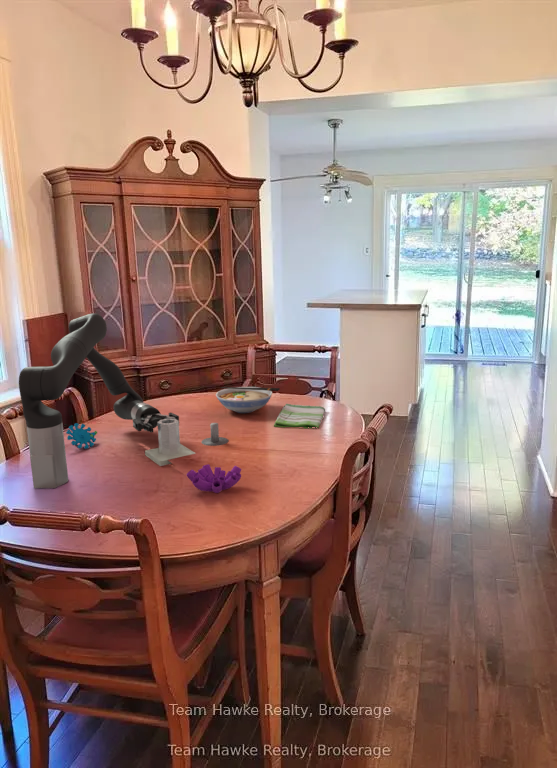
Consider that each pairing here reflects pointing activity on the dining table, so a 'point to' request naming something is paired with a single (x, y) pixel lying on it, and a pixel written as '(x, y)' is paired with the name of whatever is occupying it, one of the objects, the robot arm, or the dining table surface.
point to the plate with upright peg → (163, 459)
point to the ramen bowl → (244, 398)
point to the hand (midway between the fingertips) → (165, 426)
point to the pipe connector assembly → (214, 478)
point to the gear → (81, 436)
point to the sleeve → (168, 436)
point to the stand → (214, 437)
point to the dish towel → (300, 416)
